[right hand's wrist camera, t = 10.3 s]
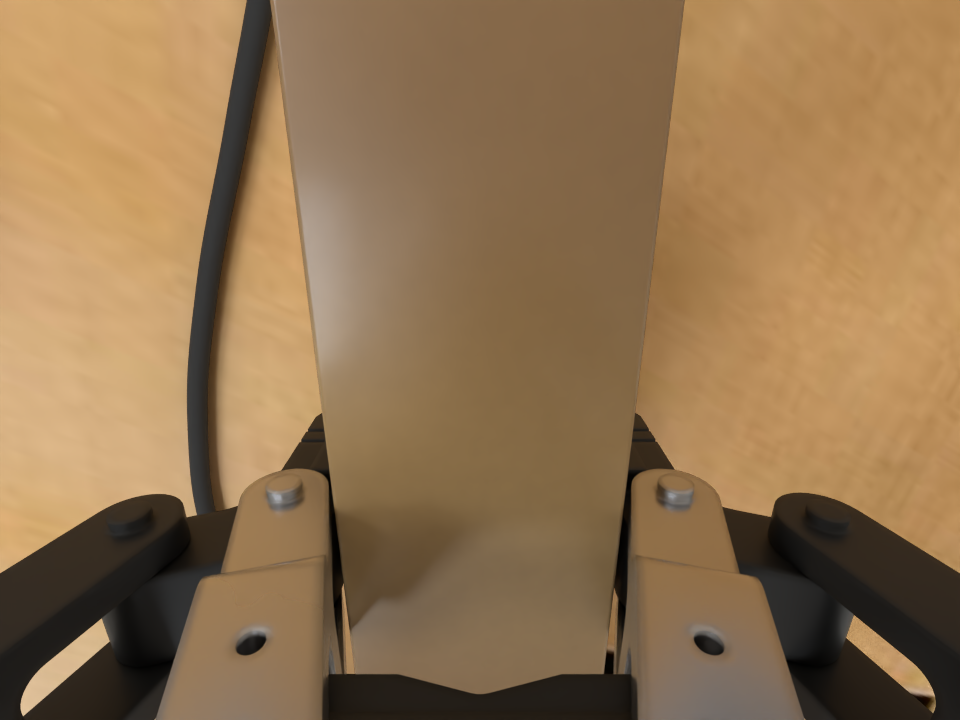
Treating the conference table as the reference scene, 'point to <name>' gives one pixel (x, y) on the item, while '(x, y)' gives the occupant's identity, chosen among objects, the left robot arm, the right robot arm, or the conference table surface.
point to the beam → (478, 311)
